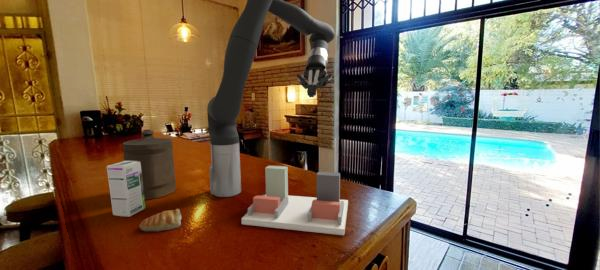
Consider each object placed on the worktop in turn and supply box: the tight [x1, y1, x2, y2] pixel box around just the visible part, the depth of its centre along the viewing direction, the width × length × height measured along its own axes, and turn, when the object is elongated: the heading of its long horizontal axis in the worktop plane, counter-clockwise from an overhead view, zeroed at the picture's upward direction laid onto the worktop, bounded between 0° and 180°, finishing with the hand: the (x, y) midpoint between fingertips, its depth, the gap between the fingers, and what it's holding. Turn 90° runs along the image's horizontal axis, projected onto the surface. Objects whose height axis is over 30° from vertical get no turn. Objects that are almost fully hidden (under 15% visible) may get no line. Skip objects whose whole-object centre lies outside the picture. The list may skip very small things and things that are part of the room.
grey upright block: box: [316, 171, 341, 202], centre depth 70 cm, size 6×3×10 cm, turn 77°
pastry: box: [139, 208, 182, 232], centre depth 65 cm, size 9×7×4 cm
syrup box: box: [106, 160, 147, 218], centre depth 73 cm, size 6×6×14 cm
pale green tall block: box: [264, 165, 289, 202], centre depth 77 cm, size 6×3×10 cm, turn 77°
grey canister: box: [122, 129, 177, 201], centre depth 88 cm, size 15×15×22 cm
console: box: [241, 194, 349, 236], centre depth 71 cm, size 26×18×6 cm
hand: (311, 95), depth 85 cm, fingers closed
